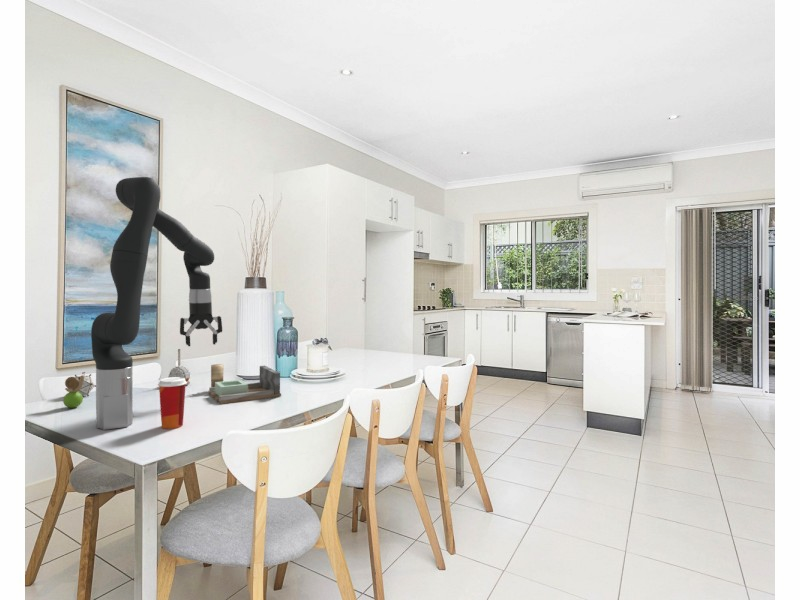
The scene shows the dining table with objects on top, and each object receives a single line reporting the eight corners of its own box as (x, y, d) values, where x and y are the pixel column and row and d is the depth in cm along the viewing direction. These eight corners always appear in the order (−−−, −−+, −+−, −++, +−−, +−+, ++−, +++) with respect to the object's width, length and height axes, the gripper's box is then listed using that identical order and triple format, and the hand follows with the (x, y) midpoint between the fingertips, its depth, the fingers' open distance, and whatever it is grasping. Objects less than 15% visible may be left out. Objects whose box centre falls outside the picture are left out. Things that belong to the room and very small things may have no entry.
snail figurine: (79, 409, 152) (79, 373, 152) (59, 409, 152) (58, 373, 151) (89, 405, 157) (89, 370, 157) (69, 405, 157) (69, 370, 156)
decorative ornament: (177, 382, 195) (177, 347, 194) (193, 383, 193) (193, 348, 192) (164, 386, 187) (164, 349, 186) (181, 387, 185) (181, 350, 185)
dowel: (224, 390, 182) (224, 365, 181) (212, 392, 179) (212, 366, 179) (221, 388, 185) (221, 363, 185) (209, 389, 183) (209, 364, 182)
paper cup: (176, 420, 142) (176, 375, 142) (192, 424, 138) (192, 378, 138) (151, 427, 135) (151, 380, 135) (167, 431, 132) (167, 383, 131)
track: (281, 396, 174) (281, 372, 174) (220, 404, 162) (220, 378, 162) (265, 387, 189) (265, 365, 189) (208, 393, 177) (208, 370, 176)
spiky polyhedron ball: (82, 407, 168) (77, 389, 162) (64, 397, 170) (58, 379, 164) (103, 391, 175) (98, 373, 169) (86, 381, 177) (80, 364, 171)
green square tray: (247, 395, 171) (247, 384, 171) (221, 398, 166) (221, 387, 166) (240, 389, 179) (240, 379, 179) (214, 392, 174) (214, 382, 174)
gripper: (179, 302, 162) (181, 348, 163) (222, 301, 169) (223, 345, 170) (178, 301, 169) (179, 345, 170) (219, 299, 175) (220, 342, 177)
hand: (201, 345), depth 170 cm, fingers open, 8 cm apart
